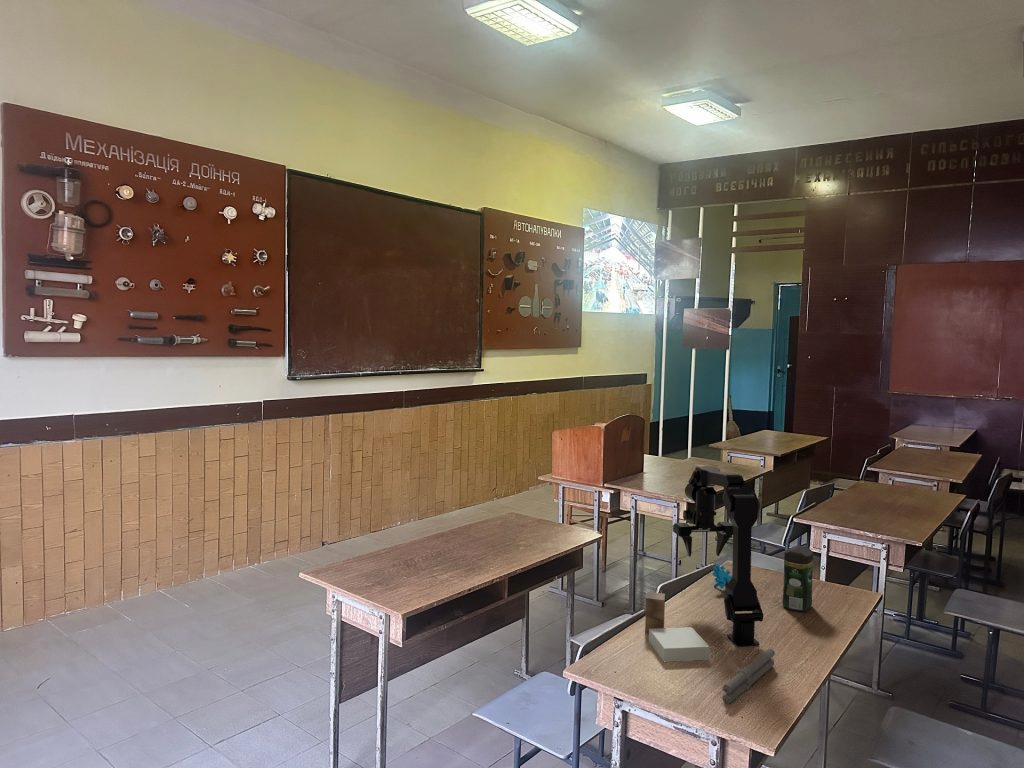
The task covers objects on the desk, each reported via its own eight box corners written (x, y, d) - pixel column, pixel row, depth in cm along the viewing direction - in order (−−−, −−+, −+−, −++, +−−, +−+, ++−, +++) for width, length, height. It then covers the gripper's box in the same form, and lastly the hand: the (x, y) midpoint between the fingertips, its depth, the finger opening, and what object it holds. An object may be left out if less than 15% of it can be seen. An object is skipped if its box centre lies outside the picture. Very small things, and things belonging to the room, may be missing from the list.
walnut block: (664, 627, 198) (665, 593, 198) (663, 635, 193) (664, 600, 193) (646, 625, 200) (647, 591, 199) (645, 632, 195) (646, 598, 194)
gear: (726, 592, 222) (710, 564, 228) (713, 601, 225) (698, 573, 231) (745, 589, 229) (729, 562, 235) (733, 598, 232) (717, 571, 238)
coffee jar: (788, 599, 222) (790, 541, 221) (814, 605, 217) (816, 546, 216) (778, 608, 214) (781, 548, 213) (805, 614, 209) (808, 554, 208)
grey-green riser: (708, 661, 179) (709, 646, 178) (663, 663, 177) (664, 648, 177) (691, 641, 191) (691, 627, 190) (648, 643, 189) (649, 628, 189)
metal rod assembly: (764, 665, 177) (765, 645, 177) (775, 668, 175) (776, 649, 175) (719, 703, 158) (720, 682, 158) (731, 708, 156) (731, 686, 156)
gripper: (722, 500, 225) (721, 547, 227) (667, 501, 223) (665, 548, 224) (738, 508, 214) (736, 558, 216) (680, 509, 212) (678, 559, 213)
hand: (703, 555), depth 217 cm, fingers open, 9 cm apart
